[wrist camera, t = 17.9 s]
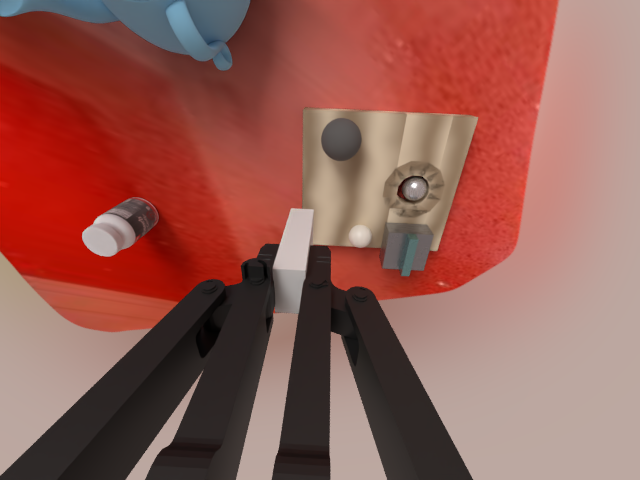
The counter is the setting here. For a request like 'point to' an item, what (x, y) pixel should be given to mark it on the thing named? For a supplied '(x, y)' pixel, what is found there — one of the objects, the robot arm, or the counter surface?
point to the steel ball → (414, 188)
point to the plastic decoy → (360, 236)
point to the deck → (383, 172)
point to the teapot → (156, 21)
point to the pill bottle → (120, 226)
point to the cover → (405, 247)
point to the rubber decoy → (341, 139)
